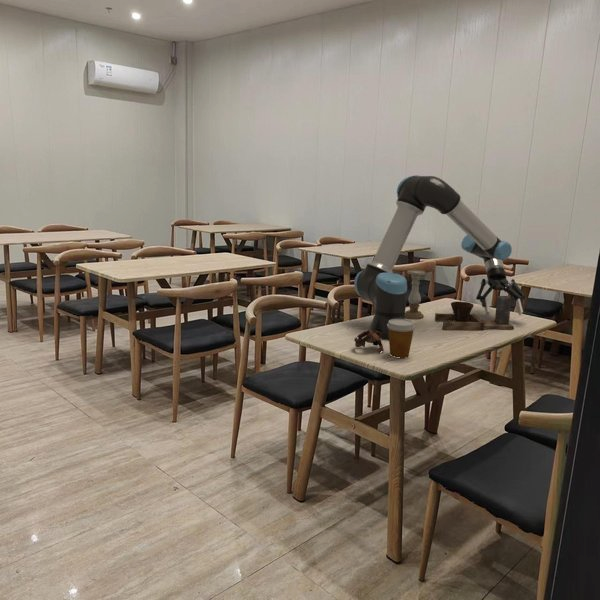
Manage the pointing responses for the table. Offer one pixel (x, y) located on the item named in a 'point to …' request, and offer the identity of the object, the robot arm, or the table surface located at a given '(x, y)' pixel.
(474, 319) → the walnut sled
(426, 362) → the table surface
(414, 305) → the candle holder
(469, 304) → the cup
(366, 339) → the dark brown arched piece
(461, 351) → the table surface
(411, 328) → the disposable coffee cup
